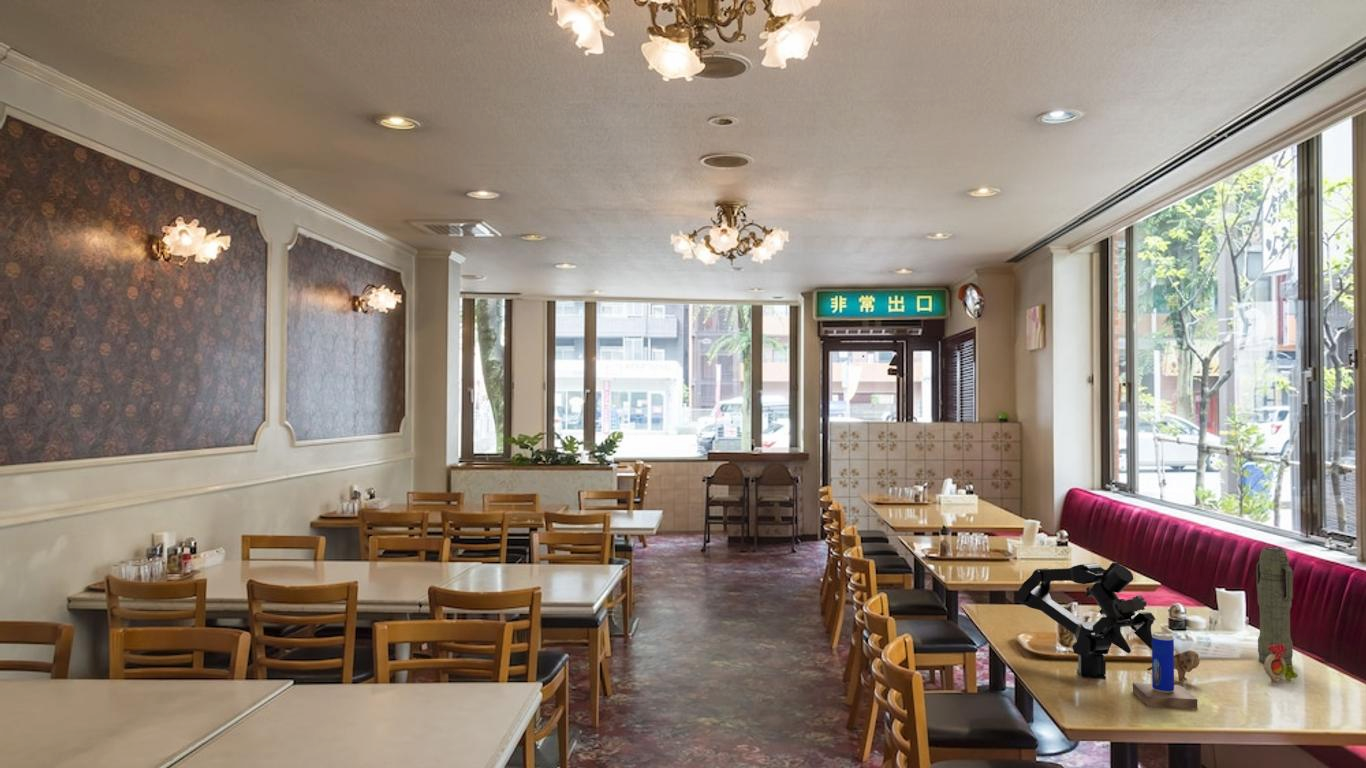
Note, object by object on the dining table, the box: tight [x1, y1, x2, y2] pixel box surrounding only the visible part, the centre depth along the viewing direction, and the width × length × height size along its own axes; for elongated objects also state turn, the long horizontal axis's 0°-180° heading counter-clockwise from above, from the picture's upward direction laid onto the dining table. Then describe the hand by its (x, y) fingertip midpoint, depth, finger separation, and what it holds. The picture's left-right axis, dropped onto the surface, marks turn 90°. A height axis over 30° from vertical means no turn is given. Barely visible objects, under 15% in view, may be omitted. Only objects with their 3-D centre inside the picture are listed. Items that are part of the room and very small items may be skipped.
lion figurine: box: [1146, 650, 1201, 683], centre depth 261 cm, size 15×5×9 cm, turn 37°
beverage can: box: [1151, 631, 1175, 693], centre depth 241 cm, size 5×5×15 cm
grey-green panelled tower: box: [1255, 546, 1294, 666], centre depth 277 cm, size 9×12×35 cm
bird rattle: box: [1263, 643, 1299, 683], centre depth 258 cm, size 6×11×9 cm
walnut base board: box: [1132, 682, 1198, 709], centre depth 240 cm, size 12×12×2 cm
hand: (1142, 650), depth 247 cm, fingers open, 9 cm apart
